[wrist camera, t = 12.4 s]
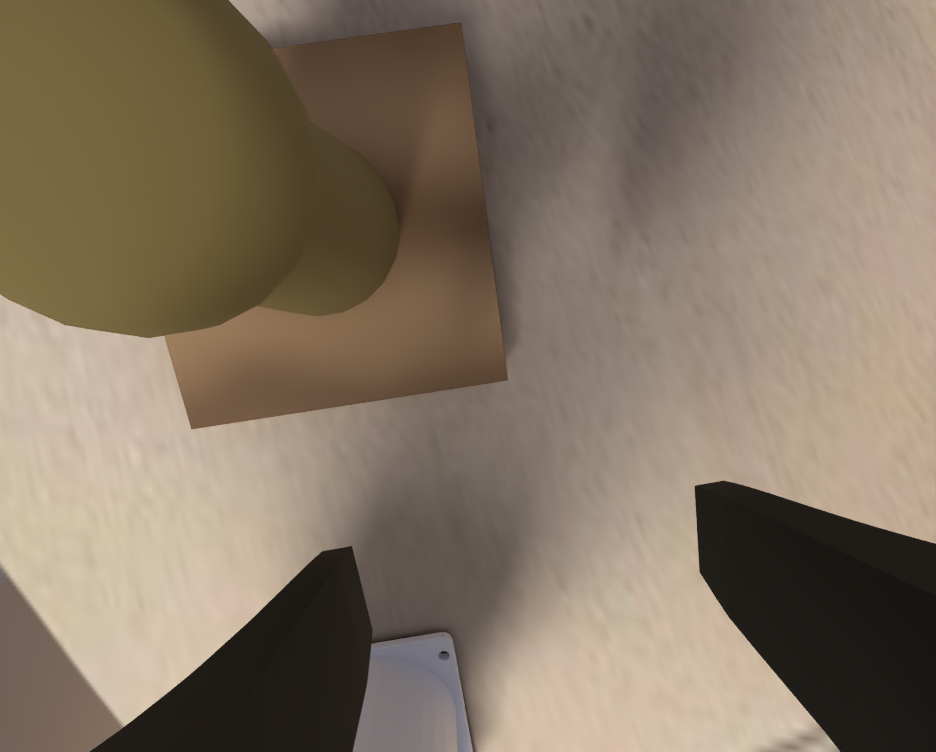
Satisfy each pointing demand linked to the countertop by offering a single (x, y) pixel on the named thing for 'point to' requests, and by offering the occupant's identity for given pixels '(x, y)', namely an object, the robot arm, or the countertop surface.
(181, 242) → the olive tapered knobbed peg
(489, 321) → the walnut base
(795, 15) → the countertop surface
